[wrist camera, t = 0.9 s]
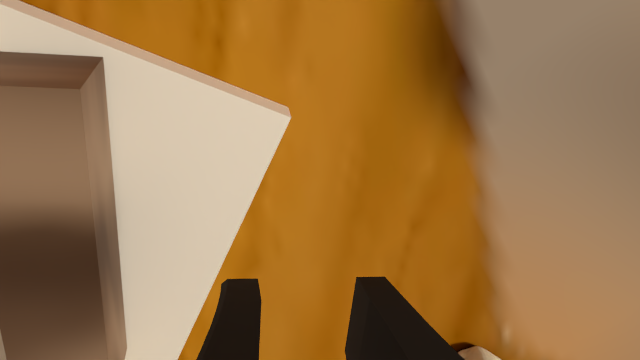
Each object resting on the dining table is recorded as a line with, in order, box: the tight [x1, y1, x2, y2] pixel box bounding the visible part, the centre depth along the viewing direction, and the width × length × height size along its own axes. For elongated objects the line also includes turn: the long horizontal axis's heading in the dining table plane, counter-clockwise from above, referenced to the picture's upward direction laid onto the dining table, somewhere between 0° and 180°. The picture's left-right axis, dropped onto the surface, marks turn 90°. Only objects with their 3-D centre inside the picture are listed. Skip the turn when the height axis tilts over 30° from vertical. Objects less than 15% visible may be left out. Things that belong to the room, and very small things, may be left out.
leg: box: [0, 51, 127, 360], centre depth 17 cm, size 12×3×3 cm, turn 175°
